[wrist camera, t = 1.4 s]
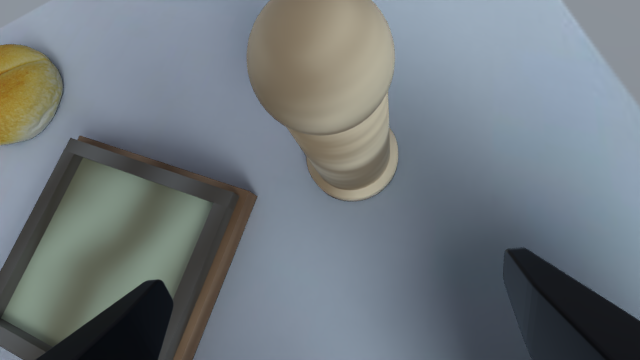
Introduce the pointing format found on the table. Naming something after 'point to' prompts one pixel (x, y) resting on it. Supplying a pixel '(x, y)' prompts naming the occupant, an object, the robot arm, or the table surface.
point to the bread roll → (26, 93)
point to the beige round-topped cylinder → (329, 88)
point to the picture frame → (118, 247)
